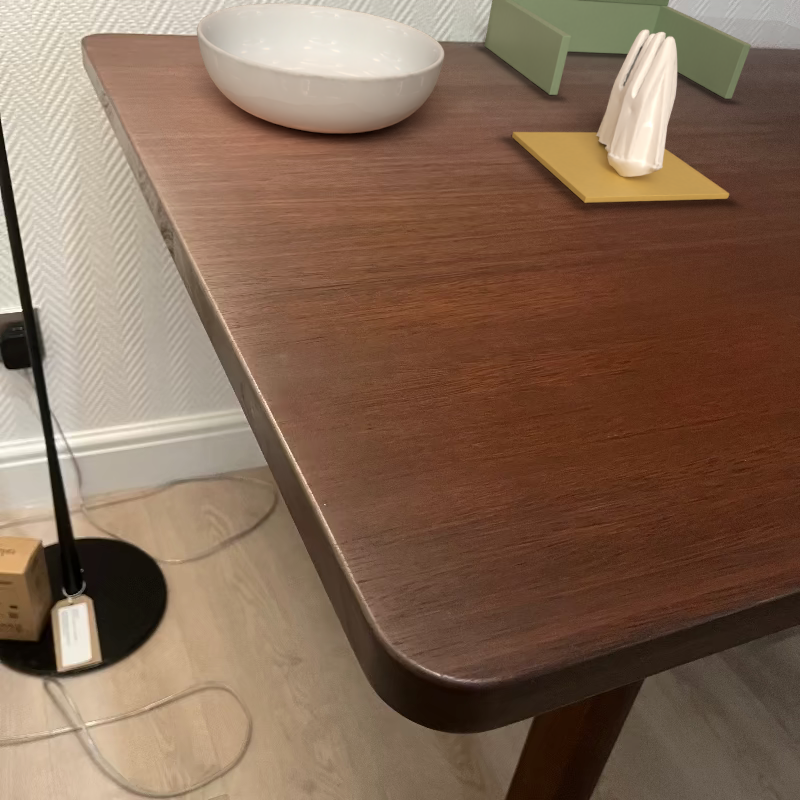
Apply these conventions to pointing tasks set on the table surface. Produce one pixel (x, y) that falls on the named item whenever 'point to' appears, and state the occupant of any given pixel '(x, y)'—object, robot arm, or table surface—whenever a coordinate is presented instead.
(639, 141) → the white ridged piece
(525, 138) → the board
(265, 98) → the serving bowl
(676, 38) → the cubby
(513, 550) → the table surface
